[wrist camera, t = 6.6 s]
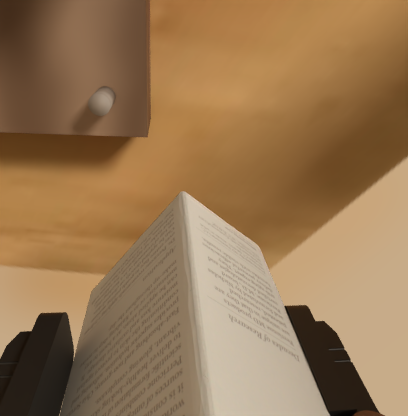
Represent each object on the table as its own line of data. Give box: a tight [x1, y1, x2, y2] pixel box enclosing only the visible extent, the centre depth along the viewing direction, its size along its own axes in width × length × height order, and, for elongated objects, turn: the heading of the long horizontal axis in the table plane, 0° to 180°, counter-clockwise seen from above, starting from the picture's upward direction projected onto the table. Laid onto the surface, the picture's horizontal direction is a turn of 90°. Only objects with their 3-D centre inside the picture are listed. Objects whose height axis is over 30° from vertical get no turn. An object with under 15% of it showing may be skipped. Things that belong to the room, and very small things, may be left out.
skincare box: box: [60, 191, 330, 416], centre depth 9 cm, size 6×4×12 cm
